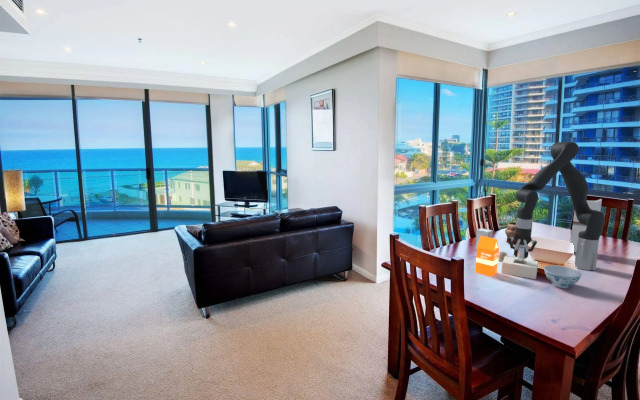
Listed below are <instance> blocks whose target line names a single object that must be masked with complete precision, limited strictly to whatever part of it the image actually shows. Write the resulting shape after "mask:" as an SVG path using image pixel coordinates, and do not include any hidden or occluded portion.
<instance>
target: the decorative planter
mask: <svg viewBox="0 0 640 400" xmlns="http://www.w3.org/2000/svg"><path fill="white" fill-rule="evenodd" d="M515 228H516V222H508V223H507V227H505V230H504V233H505V235H506V243H507V244H509V241H508V238H509V237H514V236H515ZM512 243H513V246H516V241H515V240H514V239H513V241H512Z"/></svg>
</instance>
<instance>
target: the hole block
mask: <svg viewBox="0 0 640 400" xmlns="http://www.w3.org/2000/svg"><path fill="white" fill-rule="evenodd" d="M501 263H502V264H501V271H500V272H501V274H506V275H510V276H511V275H512V276H517V277H521V278H527V279H533V280H536V279H537V273H538V265H539V261H536V260H531V259H527V258H525V262H524V264H519V263H516V257H515V256H514V257H513V256H505V257H504V260H503V262H501Z"/></svg>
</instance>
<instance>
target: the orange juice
mask: <svg viewBox="0 0 640 400" xmlns="http://www.w3.org/2000/svg"><path fill="white" fill-rule="evenodd" d="M499 252H500V246H499V240H498V238H494V237H493V238H489V237H484V236H481V237H480V240H479V243H478V246H477V251H476V258H475V270H474V272H475V274H481V275H484V276H488V277H492V278H493V276H495V275H496V274H497V273H498V266H499Z"/></svg>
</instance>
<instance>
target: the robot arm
mask: <svg viewBox="0 0 640 400" xmlns="http://www.w3.org/2000/svg"><path fill="white" fill-rule="evenodd" d="M579 151H580V148H579V145H578V144H577V143H576V142H574V141H559V142H555V143H553V144H552V145H551V146H550V155H551V158H552V160H553V161H552V162H550V163H548V164H547V165H546V166H544V167H543V168H541V169H539V170H538V171H537V172H536V173H535V175H534V176H533V177H532V178H531V179H530V181H528V182H526V183H525V184H524V185H523V186H521V187H520V188H519V189H518V190H517V192H516V193H515V199H516V200H517V201H518V202H520V203H524V205H523V206H520V207H518V209H517V213H516V214H517V215H516V221H515V223H516V228H515V236H514V237H509V238H508V241H509V243H508V244H509V246H510V247H509V248H510V249H511V250H512V249H513V256H514V258H516V257H517V248H518V246H524V247H525V249H526V252H525V259H528V257H529V252H533V251H534V249H535V247H536V245H537V243H538V241H537V240H534V239H532V231H533V215H534V211H535V209H536V206H537V203H538V201H539V194H538V193H537V192H538V191H542V190H543V189H544V188H545V187H546V185H548V183H549V182H550V181H551V180H552V179H553V177H554V176H555V175H556V174H557V173H559V172H560V174H561V175H560V176H561V177H562V179H563V181H564V185H565V187H566V190H567V191H568V194H569V196H570V199H571V202H572V205H573V209H574V211H575V213H576V217H577V219H578V221H579V222H580V223H581V224H583V225H587V228H586V230H585V231H580V232H579V235H578V242H577V250H576V255H575V259H574V265H575V266H576V267H575V266H574V267H575V268H578V269H581V270H585V271H596V270H597V269H596V268H597V264H598V263H597V262H598V256H599V255H598V250H599V243H600V237H601V235H602V234H603V229H604V225H605V218H606V217H605V215H604V213H603V211H602V212H601V210H600V211H596V210H592V209H590V207H589V206H588V203H587V200H588V199H587V198H588V195H589V189H590V187H589V185H588V182H587V179H586V177H585V176H584V174H583V173H582V172H581V171H580V170H579V169H578V168H577V167H575V166H574V165H573V164H572V162H571V161H573V159H574V158H576V157H577V155H578V154H579ZM513 239H514V240H515V241H516V245H513V243H512V241H513ZM530 243H531V247H530V248H529V245H528V244H530Z"/></svg>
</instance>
